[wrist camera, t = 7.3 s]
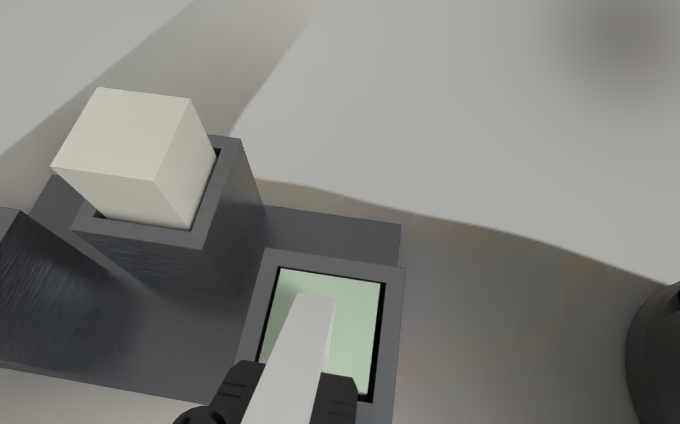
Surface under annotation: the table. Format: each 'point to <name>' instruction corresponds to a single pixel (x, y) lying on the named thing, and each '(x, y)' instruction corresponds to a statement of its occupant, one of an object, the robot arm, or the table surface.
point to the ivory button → (139, 158)
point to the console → (180, 287)
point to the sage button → (348, 325)
